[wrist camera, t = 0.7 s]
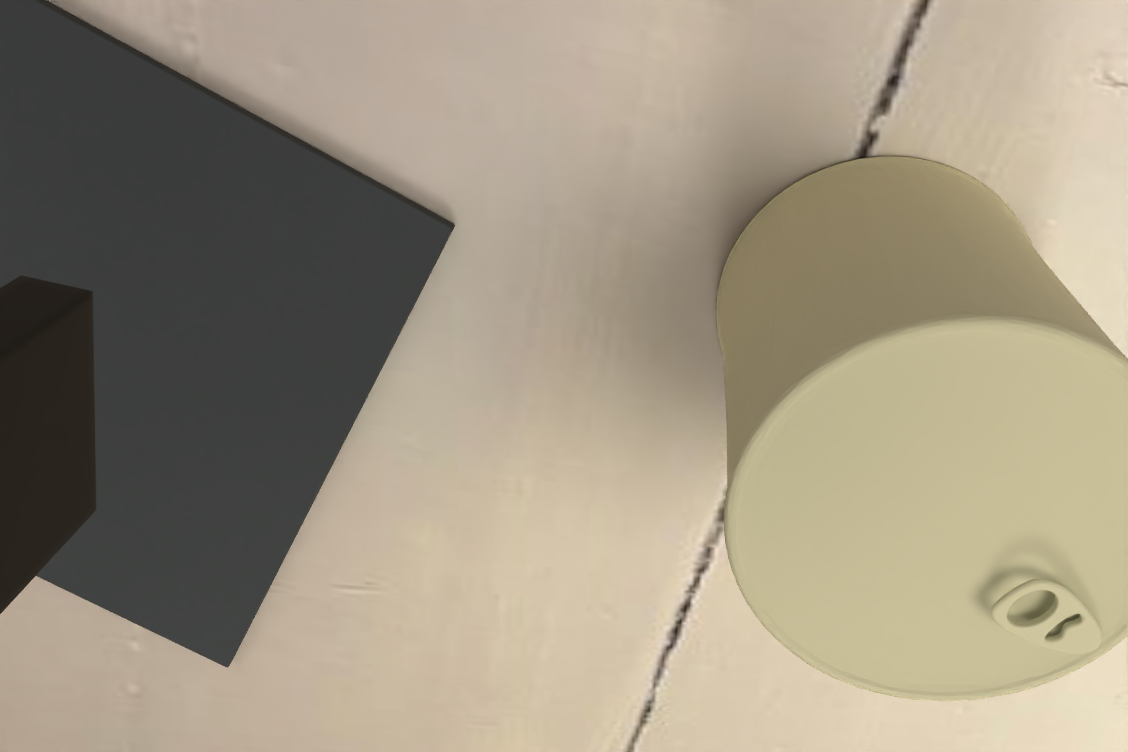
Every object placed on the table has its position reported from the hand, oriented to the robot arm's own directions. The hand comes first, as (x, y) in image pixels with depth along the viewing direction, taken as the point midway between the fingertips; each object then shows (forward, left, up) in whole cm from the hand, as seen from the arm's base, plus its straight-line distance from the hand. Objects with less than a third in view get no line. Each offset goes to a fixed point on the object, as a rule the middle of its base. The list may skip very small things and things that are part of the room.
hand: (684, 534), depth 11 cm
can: (+2, +8, -21) cm, 22 cm away
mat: (+16, -12, -21) cm, 29 cm away
